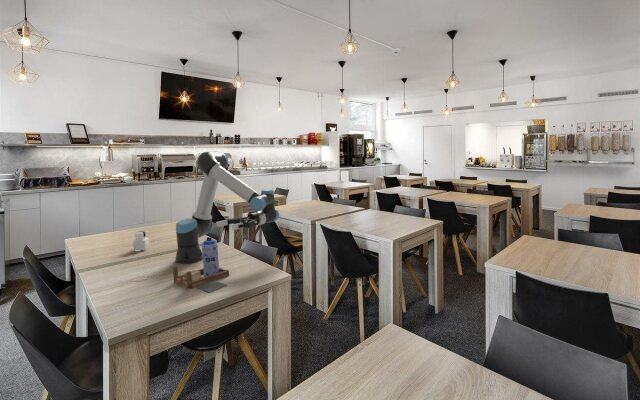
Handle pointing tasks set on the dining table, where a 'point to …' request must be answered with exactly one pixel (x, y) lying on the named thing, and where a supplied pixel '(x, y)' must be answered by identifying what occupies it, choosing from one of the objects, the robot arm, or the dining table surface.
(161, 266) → the dining table surface
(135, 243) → the medicine bottle
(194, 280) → the offcut low
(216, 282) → the mat
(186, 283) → the rack
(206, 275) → the aerosol can
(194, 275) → the offcut top
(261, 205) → the robot arm
